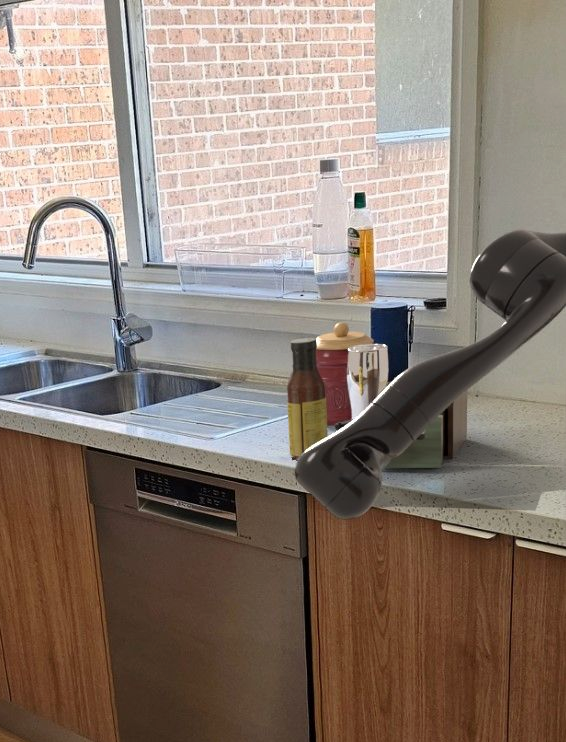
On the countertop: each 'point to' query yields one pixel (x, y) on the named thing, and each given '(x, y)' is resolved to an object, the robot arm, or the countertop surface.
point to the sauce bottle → (305, 399)
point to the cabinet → (454, 425)
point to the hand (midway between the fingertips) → (391, 416)
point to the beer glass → (365, 375)
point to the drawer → (426, 447)
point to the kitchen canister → (337, 369)
